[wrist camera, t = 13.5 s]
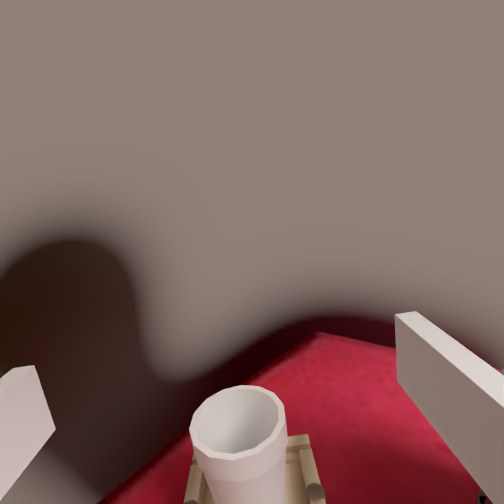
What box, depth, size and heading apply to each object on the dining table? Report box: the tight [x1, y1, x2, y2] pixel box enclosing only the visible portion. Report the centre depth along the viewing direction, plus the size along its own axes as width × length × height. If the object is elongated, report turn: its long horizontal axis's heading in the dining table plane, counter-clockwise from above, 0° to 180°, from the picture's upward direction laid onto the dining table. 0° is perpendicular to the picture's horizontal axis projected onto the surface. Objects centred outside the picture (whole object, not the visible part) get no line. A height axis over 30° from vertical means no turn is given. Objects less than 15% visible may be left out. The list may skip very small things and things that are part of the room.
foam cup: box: [189, 385, 288, 504], centre depth 31 cm, size 10×9×13 cm
